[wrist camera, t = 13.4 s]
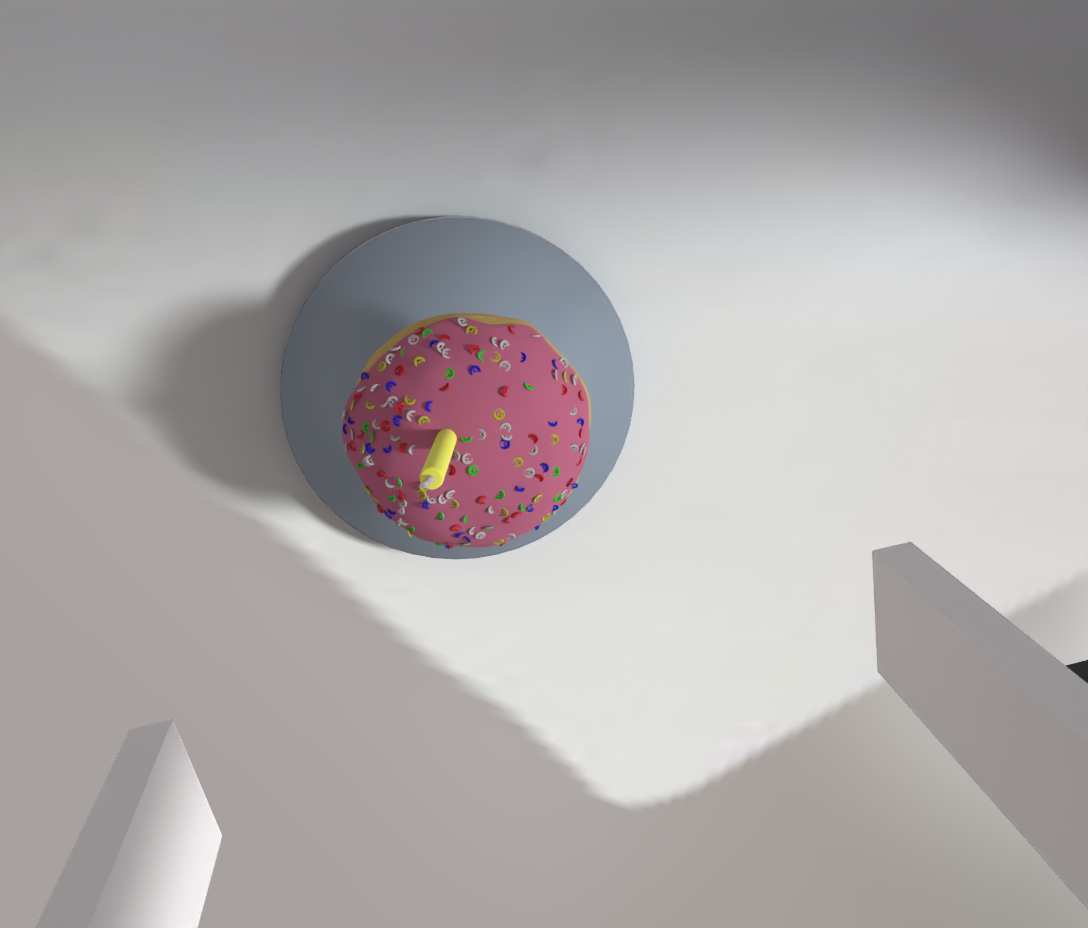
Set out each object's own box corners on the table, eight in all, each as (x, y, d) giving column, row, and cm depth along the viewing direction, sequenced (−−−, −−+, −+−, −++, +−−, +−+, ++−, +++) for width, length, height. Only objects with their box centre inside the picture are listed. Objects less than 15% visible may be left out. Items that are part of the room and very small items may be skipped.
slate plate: (403, 139, 32) (403, 139, 31) (692, 341, 36) (701, 347, 35) (219, 445, 35) (213, 456, 34) (508, 598, 39) (511, 611, 38)
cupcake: (315, 438, 34) (271, 583, 23) (418, 246, 32) (425, 302, 21) (503, 529, 37) (546, 698, 25) (609, 356, 35) (706, 458, 24)
